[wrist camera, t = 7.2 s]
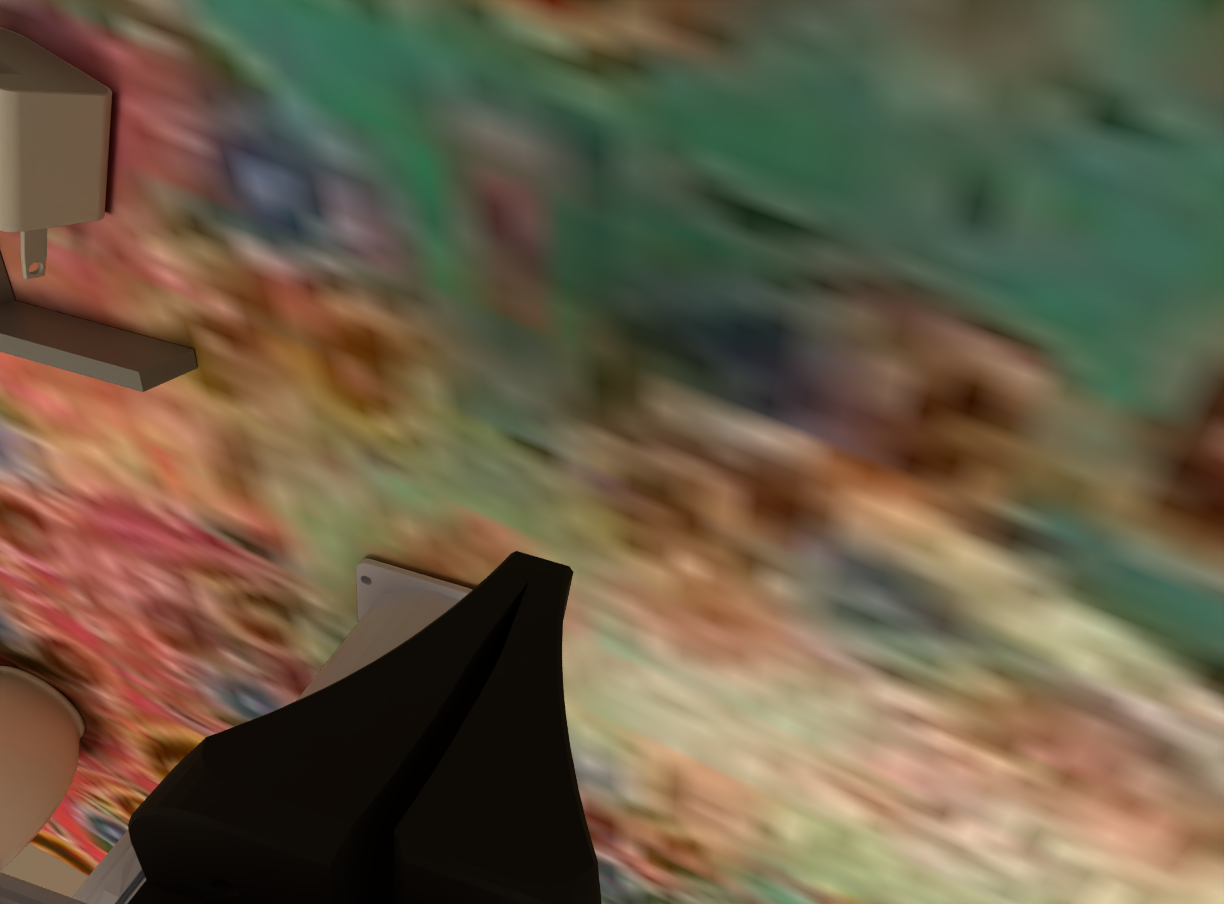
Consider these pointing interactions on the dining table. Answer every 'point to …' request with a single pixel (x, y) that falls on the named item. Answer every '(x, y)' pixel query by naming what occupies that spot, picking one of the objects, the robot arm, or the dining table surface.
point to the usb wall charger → (49, 145)
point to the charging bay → (87, 345)
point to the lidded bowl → (33, 756)
